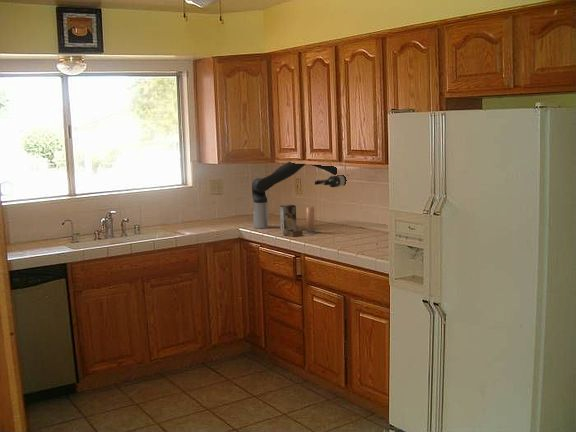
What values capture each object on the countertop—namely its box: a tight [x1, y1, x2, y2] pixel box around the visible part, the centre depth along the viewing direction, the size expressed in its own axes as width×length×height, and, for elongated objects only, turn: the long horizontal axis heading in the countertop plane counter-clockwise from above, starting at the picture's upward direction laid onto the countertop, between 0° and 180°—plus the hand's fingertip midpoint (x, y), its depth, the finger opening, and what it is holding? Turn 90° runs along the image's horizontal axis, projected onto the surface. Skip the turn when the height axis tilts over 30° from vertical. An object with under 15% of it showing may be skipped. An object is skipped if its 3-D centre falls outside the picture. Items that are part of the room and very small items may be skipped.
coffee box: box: [279, 204, 298, 231], centre depth 444 cm, size 9×6×16 cm
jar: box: [305, 206, 316, 233], centre depth 428 cm, size 5×5×16 cm
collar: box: [282, 229, 303, 238], centre depth 422 cm, size 8×8×3 cm
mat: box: [302, 230, 321, 235], centre depth 429 cm, size 9×9×1 cm
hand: (319, 183), depth 439 cm, fingers open, 8 cm apart
